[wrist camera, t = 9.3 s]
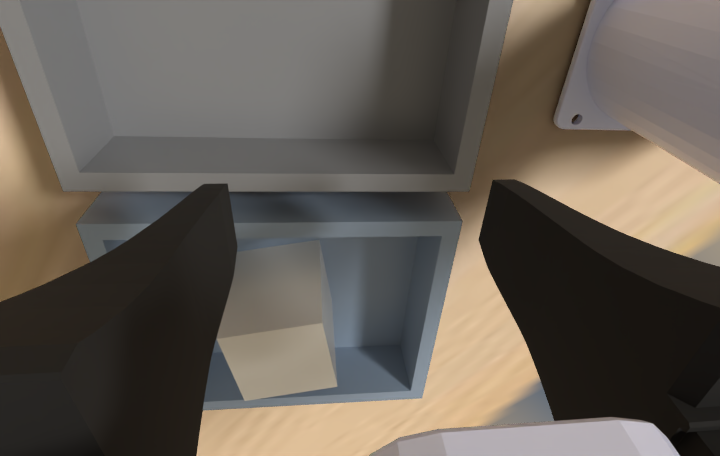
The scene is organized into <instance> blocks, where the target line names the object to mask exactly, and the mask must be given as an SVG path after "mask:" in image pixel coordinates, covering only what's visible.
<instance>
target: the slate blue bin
mask: <svg viewBox="0 0 720 456" xmlns="http://www.w3.org/2000/svg"><path fill="white" fill-rule="evenodd" d="M192 192H193V191H102V192H101V193H100V194H99V196H98V197H97V198H96V199H95V201H94V202H93V203H92V204H91V206H90V207H89V208H88V209H87V211H86V212H85V213H84V214H83V216H82V217H81V218H80V219H79V221H78V222H77V223H76V226H77V229H78V232H79V234H80V237H81V239H82V242H83V245H84V247H85V250H86V253H87V255H88V258H89V260H90V262H92V261H94V260H95V259H97V258H99V257H101V256H102V255H104V254H106V253H108V252H110V251H111V250H113V249H115V248H116V247H118V246H120V245H121V244H123V243H124V242H126V241H127V240H129V239H130V238H132V237H133V236H135V235H136V234H138V233H139V232H140V231H142V230H143V229H145V228H146V227H148V226H149V225H150V224H152V223H153V222H155V221H156V220H158V219H159V218H160V217H162V216H163V215H164V214H165V213H167V212H168V211H169V210H170V209H172V208H173V207H174V206H176V205H177V204H178V203H179V202H181V201H182V200H183V199H184V198H186V197H187V196H188V195H189V194H191V193H192ZM229 195H230V202H231V208H232V214H233V221H234V227H235V233H236V240H237V246H238V247H237V252H240V251H246V250H253V249H260V248H267V247H273V246H280V245H287V244H294V243H300V242H307V241H314V240H320V245H321V250H322V255H323V260H324V264H325V269H326V274H327V279H328V284H329V289H330V294H331V298H332V311H333V327H334V343H335V358H336V374H337V387H332V388H326V389H319V390H313V391H307V392H300V393H294V394H287V395H281V396H274V397H268V398H261V399H255V400H249V401H245V400H244V398H243V396H242V394H241V392H240V389H239V387H238V385H237V383H236V381H235V379H234V376H233V374H232V372H231V370H230V368H229V365H228V363H227V361H226V359H225V357H224V354H223V352H222V350H221V348H220V346H219V343H218V341H217V338H216V341H215V345H214V349H213V353H212V357H211V361H210V367H209V373H208V379H207V385H206V391H205V398H204V404H203V410H219V409H237V408H255V407H273V406H291V405H309V404H327V403H345V402H363V401H381V400H399V399H417V398H422V396H423V392H424V387H425V383H426V379H427V374H428V370H429V365H430V361H431V357H432V352H433V348H434V344H435V339H436V335H437V331H438V326H439V322H440V317H441V313H442V309H443V304H444V300H445V296H446V291H447V287H448V283H449V278H450V274H451V269H452V265H453V261H454V256H455V252H456V248H457V243H458V239H459V235H460V230H461V226H462V219H461V217H460V216H459V214H458V212H457V210H456V208H455V206H454V204H453V202H452V201H451V199H450V197H449V195H448V193H447V192H229ZM217 335H218V334H217Z"/></svg>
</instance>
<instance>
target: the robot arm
mask: <svg viewBox="0 0 720 456" xmlns="http://www.w3.org/2000/svg"><path fill="white" fill-rule="evenodd" d="M575 115H578V118H577V119H576V120H575V121H574V122H572V118H573V117H574V116H575ZM553 121H554V124H555V125H556V126H557V127H559V128H560V129H579V130H632V131H634V132H635V133H637V134H639V135H640V136H642V137H644V138H645V139H647V140H649V141H650V142H652V143H653V144H655V145H657V146H658V147H660V148H662V149H663V150H665V151H667V152H668V153H670V154H671V155H673V156H675V157H676V158H678V159H680V160H681V161H683V162H685V163H686V164H688V165H689V166H691V167H693V168H694V169H696V170H698V171H699V172H701V173H703V174H704V175H706V176H708V177H709V178H711V179H712V180H714V181H716V182H717V183H719V184H720V0H591V2H590V5H589V9H588V12H587V15H586V18H585V21H584V24H583V27H582V30H581V34H580V37H579V40H578V43H577V46H576V49H575V52H574V55H573V59H572V62H571V65H570V68H569V71H568V74H567V77H566V80H565V84H564V87H563V90H562V93H561V96H560V99H559V102H558V105H557V108H556V112H555V115H554V120H553ZM479 242H480V245H481V249H482V252H483V255H484V258H485V261H486V264H487V266H488V269H489V271H490V273H491V275H492V277H493V279H494V281H495V283H496V285H497V287H498V289H499V291H500V293H501V295H502V296H503V298H504V300H505V302H506V304H507V306H508V308H509V310H510V312H511V314H512V316H513V317H514V319H515V321H516V323H517V325H518V327H519V329H520V331H521V333H522V335H523V337H524V339H525V341H526V344H527V346H528V348H529V351H530V354H531V356H532V359H533V361H534V364H535V367H536V369H537V372H538V374H539V377H540V380H541V383H542V386H543V389H544V391H545V394H546V397H547V400H548V403H549V406H550V409H551V411H552V415H553V418H554V421H548V422H534V423H522V424H521V423H520V424H507V425H491V426H477V427H463V428H449V429H437V430H432V431H427V432H423V433H418V434H413V435H409V436H404V437H400V438H398V439H396V440H394V441H392V442H391V443H389V444H387V445H386V446H384V447H382V448H380V449H379V450H377V451H375V452H373V453H372V454H370V455H369V456H720V267H719V266H715V265H711V264H708V263H704V262H701V261H698V260H695V259H692V258H689V257H686V256H682V255H679V254H676V253H673V252H670V251H667V250H665V249H662V248H659V247H656V246H654V245H651V244H649V243H646V242H643V241H641V240H638V239H636V238H633V237H631V236H628V235H626V234H624V233H621V232H619V231H617V230H614V229H612V228H610V227H608V226H606V225H604V224H602V223H600V222H598V221H595V220H593V219H591V218H589V217H587V216H585V215H583V214H581V213H580V212H578V211H576V210H574V209H572V208H570V207H568V206H566V205H564V204H562V203H561V202H559V201H557V200H555V199H553V198H551V197H549V196H548V195H546V194H544V193H542V192H540V191H538V190H536V189H534V188H532V187H530V186H528V185H526V184H524V183H522V182H519V181H517V180H493V181H492V186H491V190H490V194H489V198H488V202H487V207H486V211H485V215H484V219H483V224H482V228H481V232H480V236H479ZM237 247H238V246H237V240H236V233H235V227H234V221H233V214H232V208H231V202H230V195H229V189H228V183H226V184H203V185H201V186H200V187H198V188H197V189H196V190H194V191H193V192H192V193H191V194H189V195H188V196H187V197H186V198H184V199H183V200H182V201H181V202H179V203H178V204H177V205H176V206H174V207H173V208H172V209H170V210H169V211H168V212H167V213H165V214H164V215H163V216H162V217H160V218H159V219H158V220H156V221H155V222H153V223H152V224H150V225H149V226H148V227H146V228H145V229H143V230H142V231H140V232H139V233H138V234H136V235H135V236H133V237H132V238H130V239H129V240H127V241H126V242H124V243H123V244H121V245H120V246H118V247H116V248H115V249H113V250H111V251H110V252H108V253H106V254H104V255H102V256H101V257H99V258H97V259H95V260H94V261H92V262H90V263H88V264H86V265H84V266H82V267H80V268H78V269H76V270H74V271H71V272H69V273H67V274H65V275H63V276H61V277H59V278H57V279H55V280H53V281H50V282H48V283H46V284H44V285H42V286H39V287H37V288H35V289H32V290H30V291H27V292H25V293H22V294H20V295H17V296H15V297H12V298H10V299H7V300H4V301H2V302H0V456H196V454H197V446H198V439H199V431H200V425H201V418H202V411H203V404H204V398H205V391H206V385H207V379H208V373H209V367H210V361H211V357H212V353H213V349H214V345H215V341H216V338H217V334H218V331H219V327H220V324H221V320H222V317H223V313H224V310H225V306H226V303H227V299H228V296H229V292H230V288H231V285H232V281H233V277H234V270H235V263H236V255H237Z"/></svg>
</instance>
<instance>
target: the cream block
mask: <svg viewBox="0 0 720 456" xmlns="http://www.w3.org/2000/svg"><path fill="white" fill-rule="evenodd" d="M217 341H218V343H219V346H220V348H221V350H222V352H223V354H224V357H225V359H226V361H227V363H228V365H229V368H230V370H231V372H232V374H233V376H234V379H235V381H236V383H237V385H238V387H239V389H240V392H241V394H242V396H243V398H244V400H245V401H249V400H255V399H261V398H268V397H274V396H281V395H287V394H294V393H300V392H307V391H313V390H319V389H326V388H332V387H337V374H336V358H335V343H334V327H333V311H332V298H331V294H330V289H329V284H328V279H327V274H326V269H325V264H324V260H323V255H322V250H321V245H320V240H314V241H307V242H300V243H294V244H287V245H280V246H273V247H267V248H260V249H253V250H246V251H240V252H237V255H236V263H235V270H234V277H233V281H232V285H231V288H230V292H229V296H228V299H227V303H226V306H225V310H224V313H223V317H222V320H221V324H220V327H219V331H218V335H217Z"/></svg>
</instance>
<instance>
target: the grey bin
mask: <svg viewBox="0 0 720 456" xmlns="http://www.w3.org/2000/svg"><path fill="white" fill-rule="evenodd" d="M512 3H513V0H0V27H1V30H2V32H3V35H4V38H5V40H6V43H7V45H8V48H9V51H10V53H11V56H12V58H13V61H14V64H15V66H16V69H17V72H18V74H19V77H20V79H21V82H22V85H23V87H24V90H25V93H26V95H27V98H28V100H29V103H30V106H31V108H32V111H33V114H34V116H35V119H36V121H37V124H38V127H39V129H40V132H41V135H42V137H43V140H44V142H45V145H46V148H47V150H48V153H49V156H50V158H51V161H52V163H53V166H54V169H55V171H56V174H57V177H58V179H59V182H60V184H61V187H62V190H63V191H194V190H196V189H197V188H198V187H200V186H201V185H203V184H226V183H228V189H229V192H469V191H470V187H471V182H472V178H473V173H474V169H475V165H476V160H477V156H478V152H479V147H480V143H481V139H482V134H483V130H484V126H485V121H486V117H487V112H488V108H489V104H490V99H491V95H492V91H493V86H494V82H495V78H496V73H497V69H498V64H499V60H500V56H501V51H502V47H503V43H504V38H505V34H506V30H507V25H508V21H509V16H510V12H511V8H512Z"/></svg>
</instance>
